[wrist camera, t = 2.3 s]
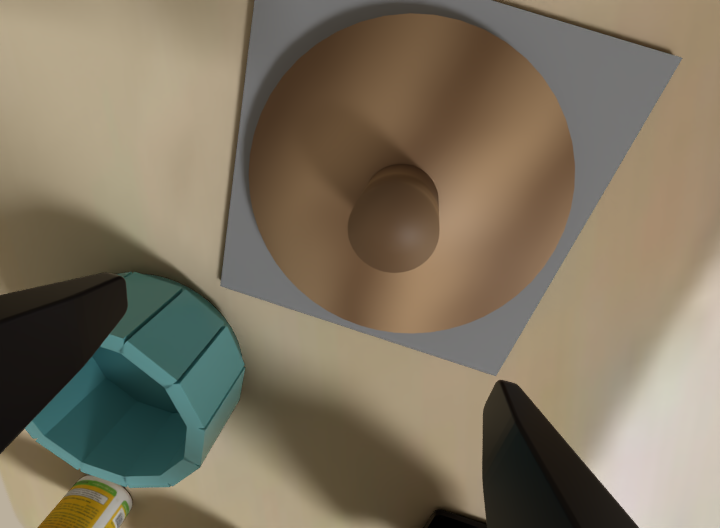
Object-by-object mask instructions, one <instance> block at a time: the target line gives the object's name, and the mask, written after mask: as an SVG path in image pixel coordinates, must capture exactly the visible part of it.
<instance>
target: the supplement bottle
mask: <svg viewBox="0 0 720 528" xmlns="http://www.w3.org/2000/svg"><path fill="white" fill-rule="evenodd" d="M131 508H132V499H131V496H130V495H129V493H128V492H127V491H126V490H125V489H124V488H123V487H122V486H121V485H118V484H115V483H112V482H110V481H107V480H104V479H101V478H98V477H95V476H92V475H87V476H84V477H82V478H81V479H79V480H78V481H77V483H76V484H75V485H74V486H73V487H72V488H71V489H70V490H69V492H68V493H67V494H66V495H65V496H64V498H63V499H62V500H61V501H60V502H59V503H58V505H57V506H56V507H55V508H54V509H53V510H52V511H51V513H50V514H49V515H48V516H47V517H46V518H45V520H44V521H43V522H42V523H41V524H40V525H39V527H38V528H119V527H120V525H121V524H122V522H123V521H124V519H125V518H126V516H127V515H128V513H129V512H130V510H131Z"/></svg>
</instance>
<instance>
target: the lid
mask: <svg viewBox="0 0 720 528" xmlns="http://www.w3.org/2000/svg"><path fill="white" fill-rule="evenodd" d="M574 186H575V161H574V152H573V144H572V139H571V136H570V132H569V128H568V125H567V121H566V118H565V116H564V114H563V112H562V109H561V107H560V105H559V103H558V100H557V98H556V96H555V95H554V93H553V92H552V90H551V89H550V87H549V86H548V84H547V83H546V81H545V80H544V78H543V77H542V75H541V74H540V73H539V72H538V71H537V70H536V69H535V68H534V67H533V65H532V64H531V63H530V62H529V61H528V60H527V59H526V58H525V57H524V56H523V55H521V54H520V53H519V52H518V51H517V50H515V49H514V48H513V47H512V46H510V45H509V44H508V43H507V42H505V41H503V40H502V39H500V38H498V37H496V36H495V35H493V34H491V33H490V32H488V31H486V30H484V29H482V28H479V27H477V26H474V25H471V24H469V23H466V22H464V21H461V20H457V19H452V18H448V17H443V16H438V15H429V14H412V13H408V14H398V15H388V16H382V17H378V18H374V19H370V20H366V21H362V22H359V23H356V24H354V25H352V26H349V27H347V28H344V29H342V30H340V31H337V32H336V33H334V34H332V35H331V36H329V37H327V38H326V39H324V40H322V41H321V42H319V43H317V44H316V45H315V46H314V47H312V48H311V49H310V50H309V51H308V52H306V53H305V54H304V55H303V56H301V57H300V58H299V59H298V60H297V61H296V62H295V63H294V64H293V66H292V67H291V68H290V69H289V70H288V71H287V72H286V73H285V74H284V75H283V77H282V78H281V80H280V81H279V83H278V84H277V85H276V87H275V88H274V90H273V91H272V93H271V94H270V96H269V98H268V100H267V102H266V104H265V106H264V108H263V110H262V112H261V115H260V117H259V120H258V123H257V126H256V129H255V132H254V136H253V141H252V146H251V151H250V161H249V189H250V198H251V203H252V208H253V213H254V216H255V220H256V223H257V226H258V229H259V232H260V234H261V236H262V238H263V241H264V243H265V245H266V247H267V249H268V251H269V252H270V254H271V256H272V257H273V259H274V261H275V262H276V264H277V265H278V266H279V268H280V269H281V270H282V271H283V273H284V274H285V275H286V277H287V278H288V279H289V280H290V281H291V282H292V283H293V284H294V285H295V286H296V287H297V288H298V289H299V290H300V291H301V292H302V293H303V294H305V295H306V296H307V297H308V298H309V299H311V300H312V301H313V302H315V303H316V304H318V305H319V306H321V307H322V308H324V309H325V310H327V311H328V312H330V313H332V314H334V315H336V316H338V317H340V318H342V319H344V320H347V321H350V322H352V323H355V324H357V325H360V326H364V327H368V328H371V329H375V330H380V331H387V332H393V333H428V332H435V331H441V330H447V329H451V328H454V327H458V326H461V325H465V324H467V323H470V322H472V321H475V320H477V319H480V318H482V317H484V316H486V315H488V314H489V313H491V312H493V311H495V310H497V309H498V308H500V307H502V306H503V305H504V304H506V303H507V302H509V301H510V300H511V299H513V298H514V297H515V296H517V295H518V294H519V293H520V292H521V291H522V290H523V289H524V288H525V287H526V286H527V285H529V284H530V283H531V282H532V280H533V279H534V278H535V277H536V276H537V274H538V273H539V272H540V271H541V270H542V269H543V267H544V266H545V264H546V263H547V261H548V260H549V258H550V257H551V255H552V254H553V252H554V250H555V249H556V247H557V244H558V242H559V240H560V238H561V236H562V234H563V232H564V229H565V226H566V223H567V220H568V217H569V214H570V210H571V205H572V199H573V193H574Z"/></svg>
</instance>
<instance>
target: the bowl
mask: <svg viewBox="0 0 720 528" xmlns="http://www.w3.org/2000/svg"><path fill="white" fill-rule="evenodd" d="M116 275H119V276H122V277H123V278H124V279H125V281H126V288H127V299H128V308H127V311H126V313H125V315H124V316H123V318H122V319H121V320H120V322H119V323H118V324H117V325H116V327H115V328H114V329H113V330H112V332H111V333H110V334H109V336H108V337H107V338H106V339H105V341H104V342H103V343H102V344H101V346H100V347H99V348H98V350H97V351H96V352H95V353H94V355H93V356H92V357H91V358H90V360H89V361H88V362H87V363H86V364H85V366H84V367H83V368H82V369H81V370H80V371H79V372H78V373H77V374H76V375H75V376H74V377H73V379H72V380H71V381H70V382H69V383H68V384H67V385H66V386H65V387H64V388H63V389H62V390H61V391H60V392H59V393H58V394H57V395H56V396H55V397H54V398H53V399H52V400H51V401H50V403H49V404H48V405H47V406H46V407H45V408H44V409H43V410H42V411H41V412H40V413H39V414H38V415H37V416H36V417H35V418H34V419H33V420H32V421H31V422H30V423H29V424H28V426H27V427H26V428H25V429H26V431H27V432H28V433H29V434H30V436H31V437H32V438H33V439H35V438H38V439H37V440H36V442H38V443H39V444H41V445H42V446H43V447H45V448H46V449H48V450H49V451H51V452H52V453H54V454H55V455H56V456H58V457H59V458H61V459H62V460H64V461H65V462H67V463H68V464H70V465H71V466H72V467H74V468H75V469H77V470H78V469H79V468H80V470H81V472H83V473H86V474H89V475H92V476H95V477H98V478H101V479H104V480H107V481H110V482H112V483H115V484H118V485H121V486H124V487H127V486H128V487H129V488H146V487H170V486H174V485H175V484H177V483H178V482H180V481H181V480H183V479H184V478H185V477H187V476H188V475H190V474H191V473H193V472H194V471H196V470H197V469H199V468H200V466H201V465H202V463H203V461H204V460H205V458H206V456H207V454H208V453H209V451H210V449H211V448H212V446H213V444H214V443H215V441H216V439H217V437H218V436H219V434H220V432H221V431H222V429H223V427H224V426H225V424H226V422H227V420H228V419H229V417H230V415H231V414H232V412H233V410H234V408H235V407H236V405H237V403H238V402H239V400H240V395H241V389H242V383H243V377H244V372H245V367H244V365H245V364H244V362H243V360H242V354H241V350H240V346H239V343H238V341H237V338H236V336H235V334H234V332H233V330H232V328H231V327H230V325H229V324H228V322H227V321H226V319H225V318H224V317H223V316H222V315H221V313H220V312H219V311H218V310H217V309H216V308H215V307H214V306H213V305H212V304H211V303H210V302H209V301H207V300H206V299H205V298H203V297H202V296H201V295H199V294H198V293H196V292H195V291H193V290H192V289H190V288H188V287H186V286H184V285H182V284H180V283H178V282H175V281H173V280H170V279H167V278H164V277H160V276H156V275H149V274H140V273H137V272H133V273H132V272H126V273H121V274H116Z"/></svg>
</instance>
